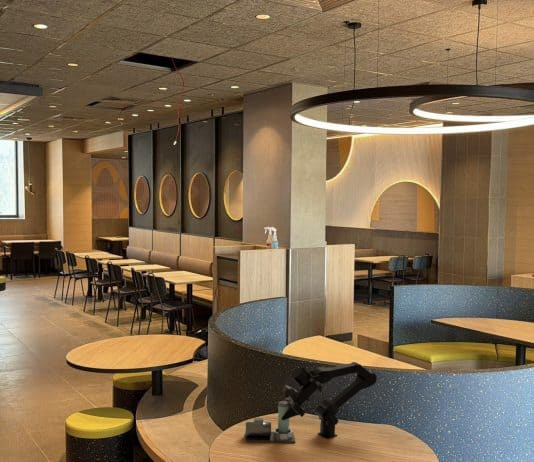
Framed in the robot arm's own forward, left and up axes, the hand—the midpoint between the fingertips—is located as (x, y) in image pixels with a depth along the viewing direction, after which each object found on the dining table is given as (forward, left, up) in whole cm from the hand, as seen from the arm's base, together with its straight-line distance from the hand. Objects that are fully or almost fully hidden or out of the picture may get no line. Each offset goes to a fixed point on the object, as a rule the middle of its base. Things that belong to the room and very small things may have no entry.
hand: (280, 417), depth 261 cm
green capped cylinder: (-1, -1, -7) cm, 7 cm away
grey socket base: (+2, +4, -10) cm, 11 cm away
